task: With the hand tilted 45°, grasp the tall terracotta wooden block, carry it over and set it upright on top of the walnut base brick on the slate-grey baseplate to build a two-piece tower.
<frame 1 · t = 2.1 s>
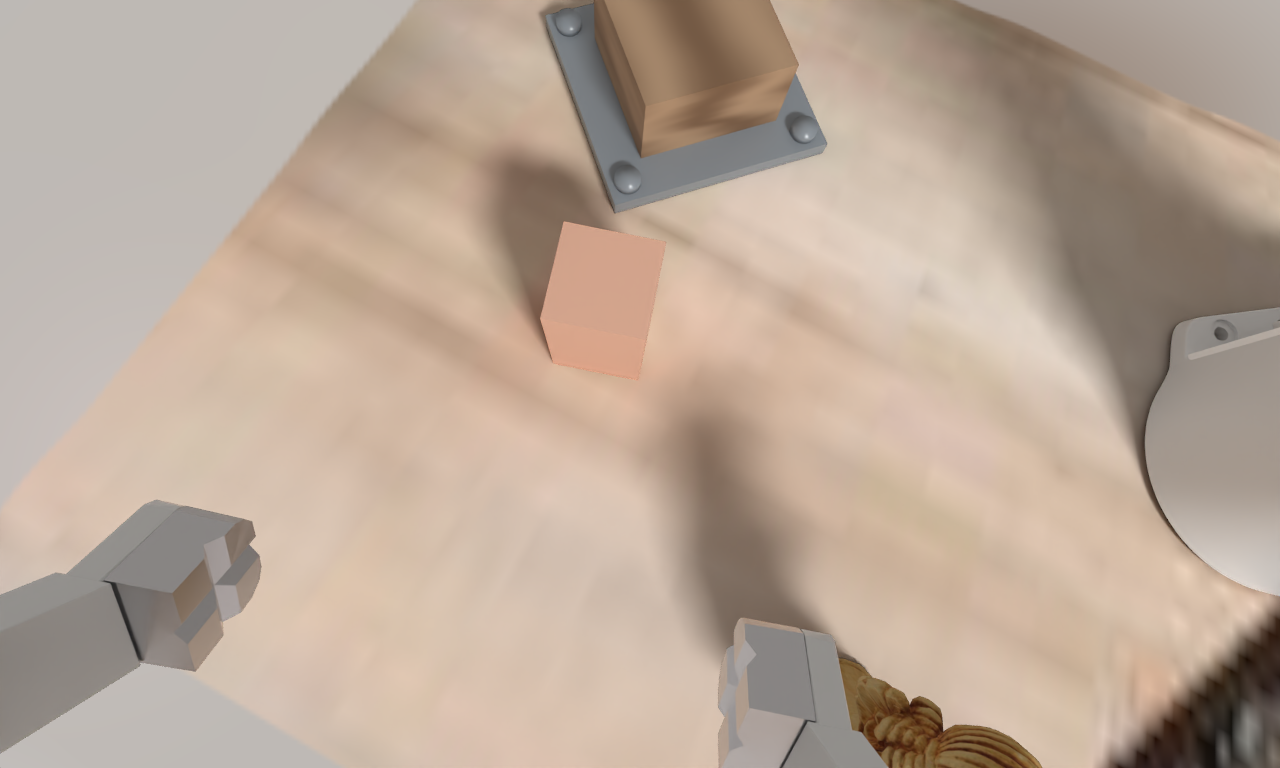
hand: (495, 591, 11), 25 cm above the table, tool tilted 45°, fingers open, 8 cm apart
baseplate: (682, 89, 42), on the table
figurine: (821, 724, 34), on the table
terracotta block: (604, 331, 38), on the table
walnut base brick: (684, 78, 41), point 1 cm above the table, touching baseplate
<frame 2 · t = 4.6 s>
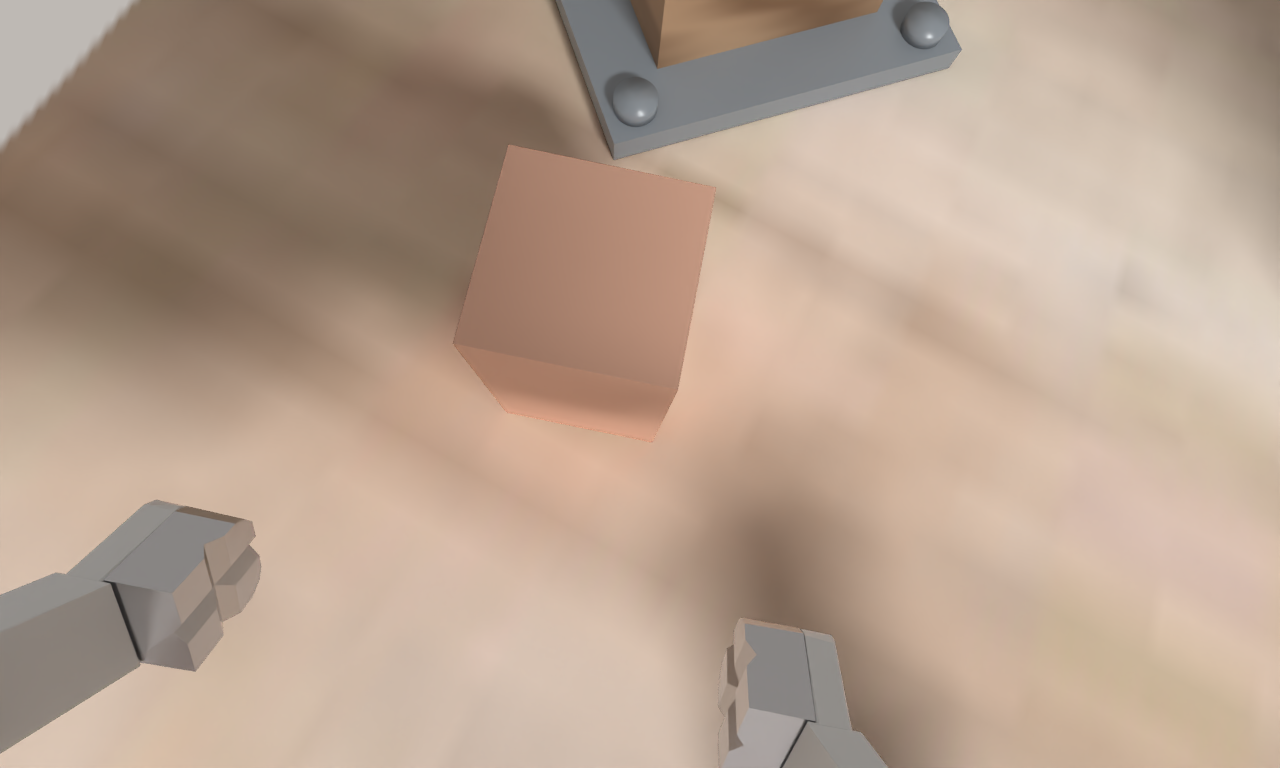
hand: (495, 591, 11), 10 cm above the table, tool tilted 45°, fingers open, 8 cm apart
terracotta block: (595, 357, 23), on the table
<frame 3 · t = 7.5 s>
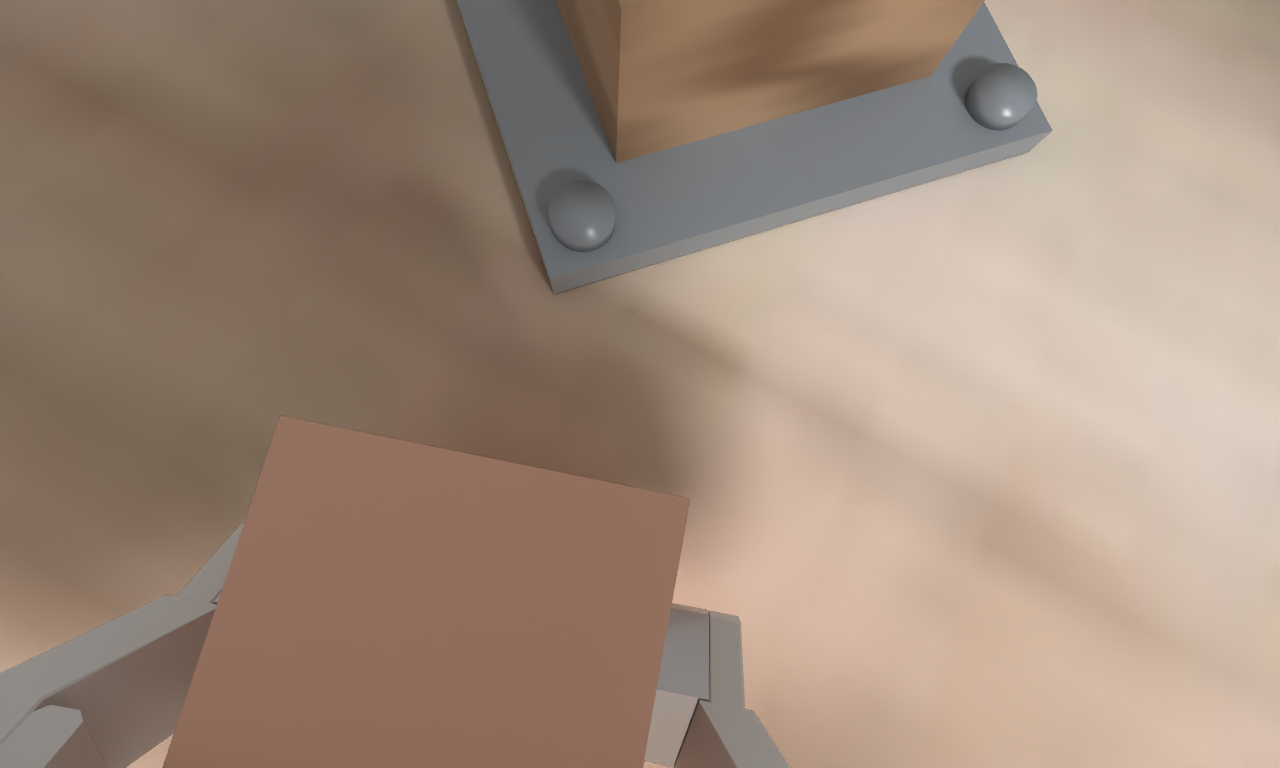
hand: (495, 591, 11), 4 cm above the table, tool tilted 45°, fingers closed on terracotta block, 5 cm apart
baseplate: (712, 9, 19), on the table
terracotta block: (519, 605, 15), on the table, touching gripper
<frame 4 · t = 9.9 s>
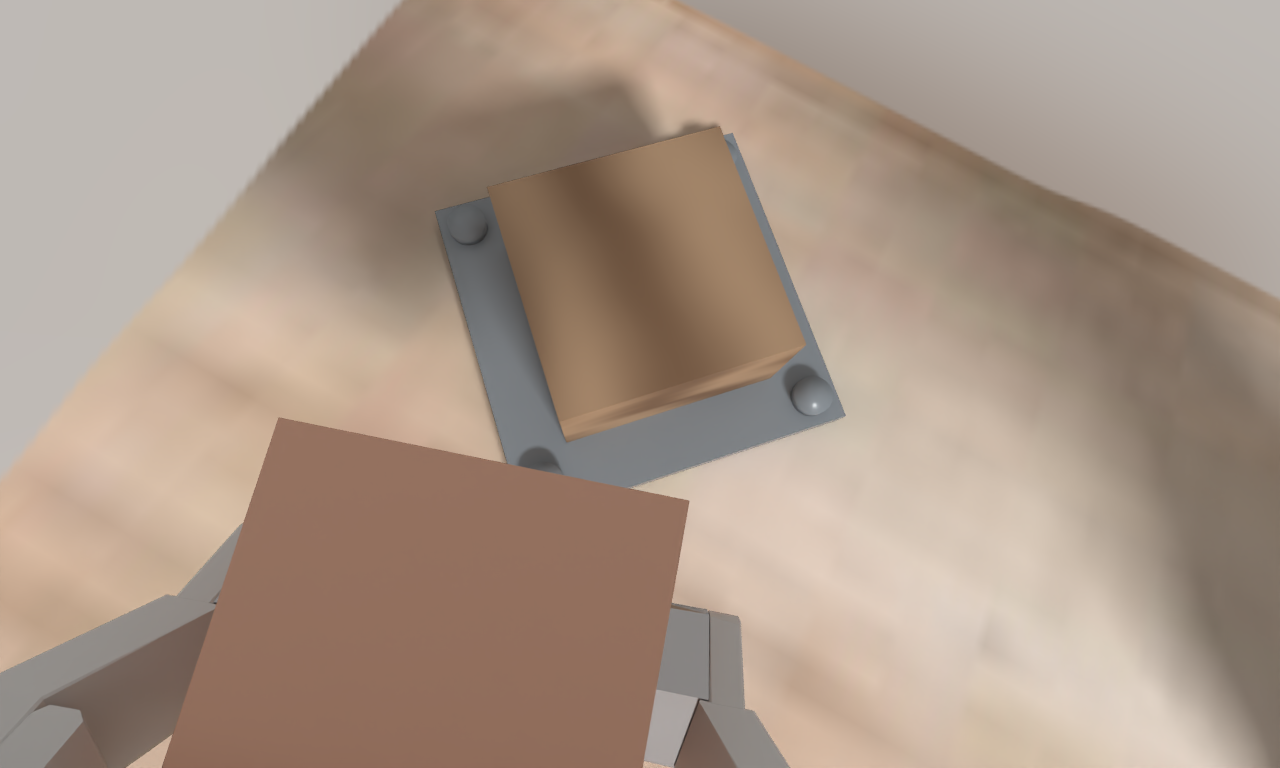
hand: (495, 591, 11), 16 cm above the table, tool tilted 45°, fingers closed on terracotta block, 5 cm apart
baseplate: (635, 319, 29), on the table
terracotta block: (518, 606, 15), point 12 cm above the table, touching gripper
walnut base brick: (636, 311, 28), point 1 cm above the table, touching baseplate
when the fingers open (12 cm above the table, at t = 12.6 s): terracotta block drops 1 cm, resting on walnut base brick.
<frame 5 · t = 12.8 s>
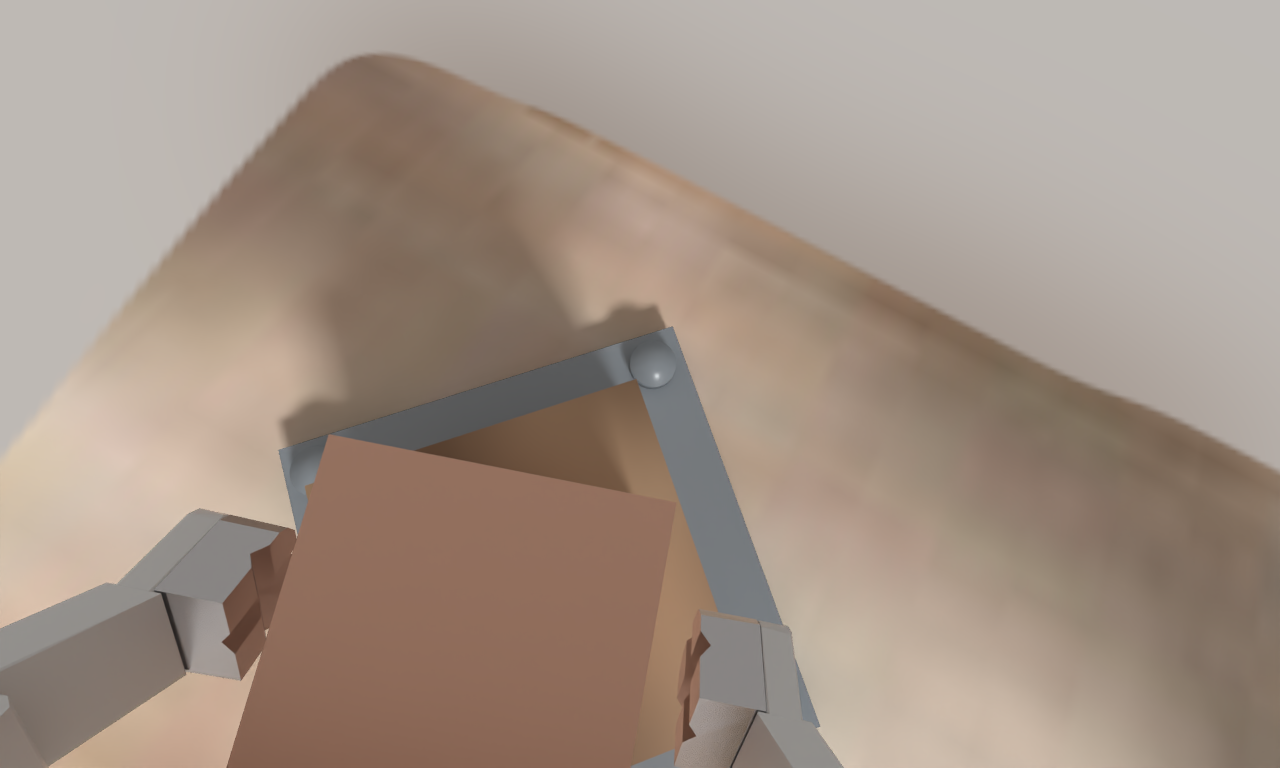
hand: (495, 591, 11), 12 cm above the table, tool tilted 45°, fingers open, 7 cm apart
baseplate: (545, 582, 22), on the table
terracotta block: (526, 599, 16), point 6 cm above the table, touching walnut base brick
walnut base brick: (542, 584, 21), point 1 cm above the table, touching baseplate, terracotta block
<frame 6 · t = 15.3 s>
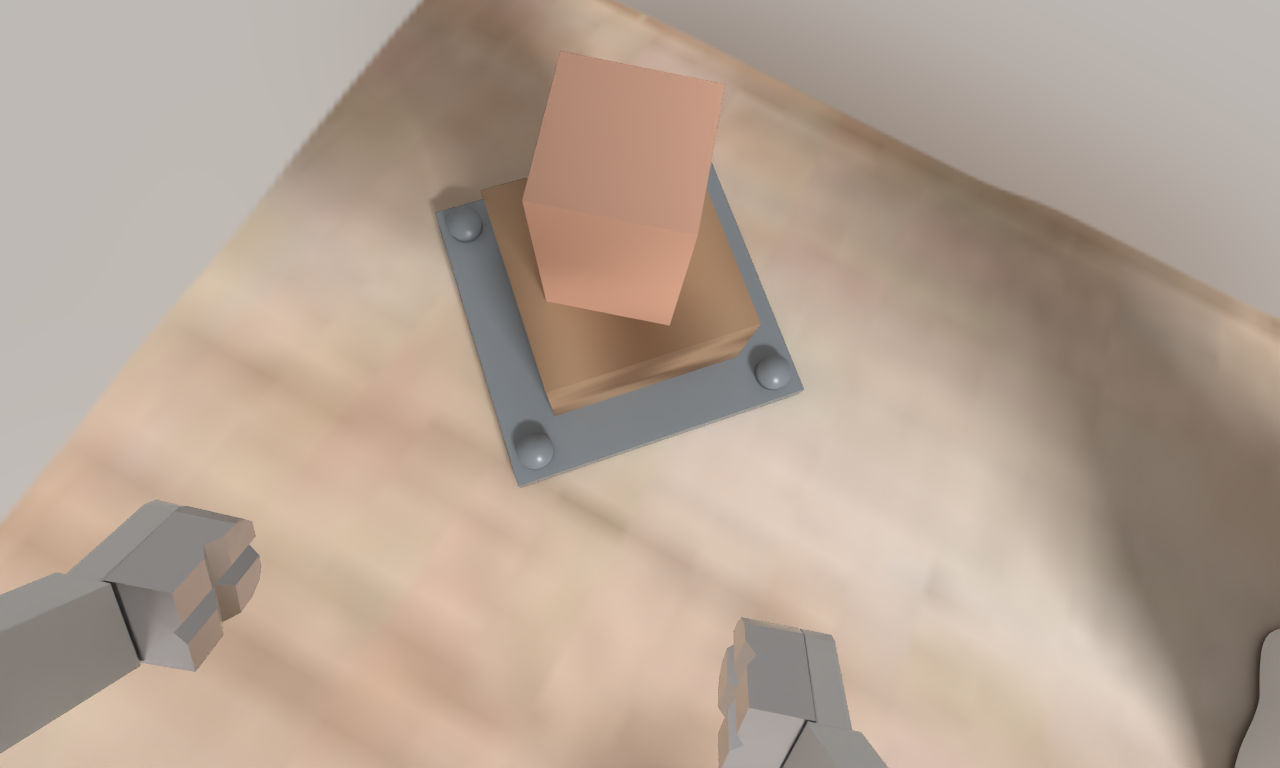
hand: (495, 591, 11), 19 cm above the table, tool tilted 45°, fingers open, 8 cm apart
baseplate: (616, 306, 32), on the table
terracotta block: (620, 256, 27), point 6 cm above the table, touching walnut base brick
walnut base brick: (616, 299, 32), point 1 cm above the table, touching baseplate, terracotta block
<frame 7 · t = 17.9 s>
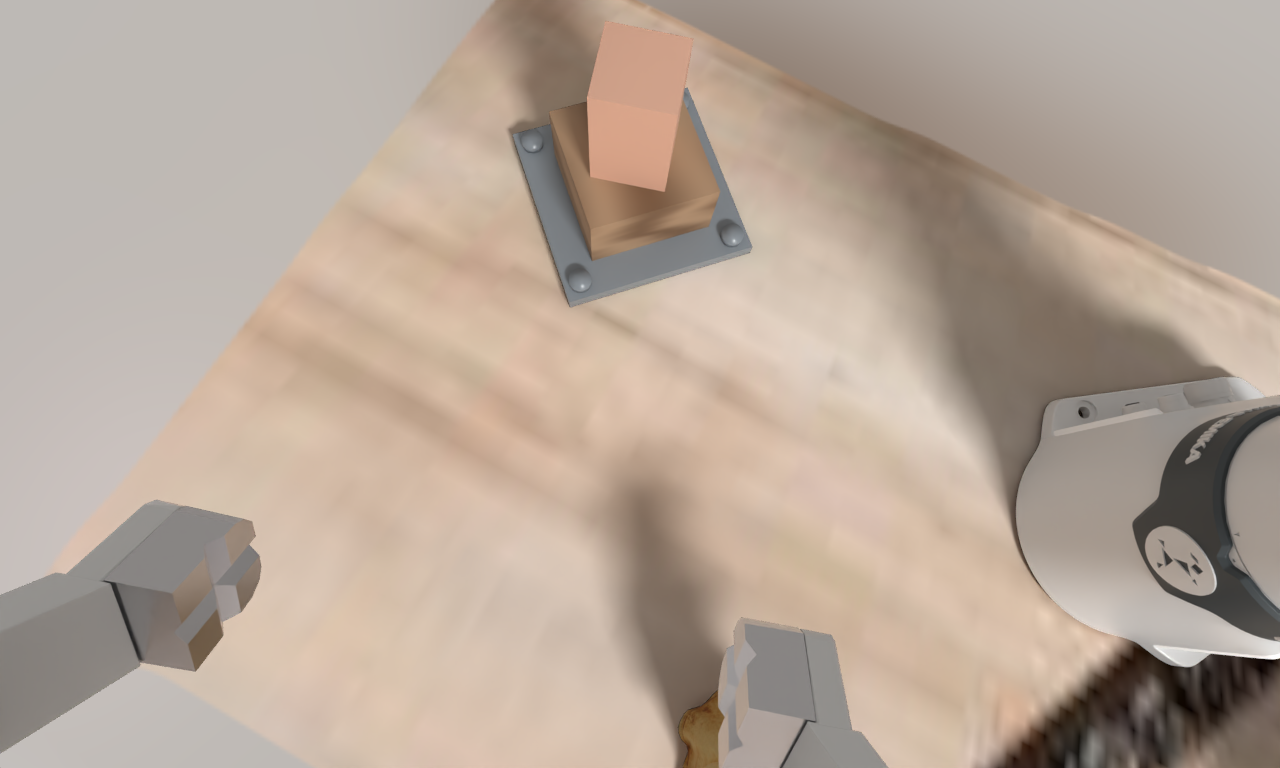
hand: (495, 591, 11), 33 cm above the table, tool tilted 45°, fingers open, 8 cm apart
baseplate: (630, 196, 49), on the table
figurine: (734, 746, 41), on the table
terracotta block: (634, 151, 44), point 6 cm above the table, touching walnut base brick
walnut base brick: (631, 190, 48), point 1 cm above the table, touching baseplate, terracotta block
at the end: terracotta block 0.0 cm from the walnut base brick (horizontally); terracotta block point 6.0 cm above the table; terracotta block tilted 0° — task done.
